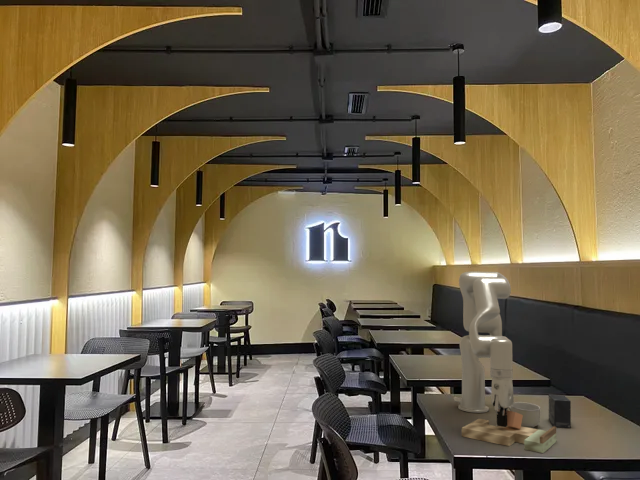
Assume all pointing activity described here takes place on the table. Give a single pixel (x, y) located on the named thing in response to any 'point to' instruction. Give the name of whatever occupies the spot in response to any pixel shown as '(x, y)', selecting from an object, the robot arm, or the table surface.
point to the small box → (559, 411)
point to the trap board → (511, 435)
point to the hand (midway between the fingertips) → (502, 425)
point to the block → (514, 419)
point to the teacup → (527, 413)
